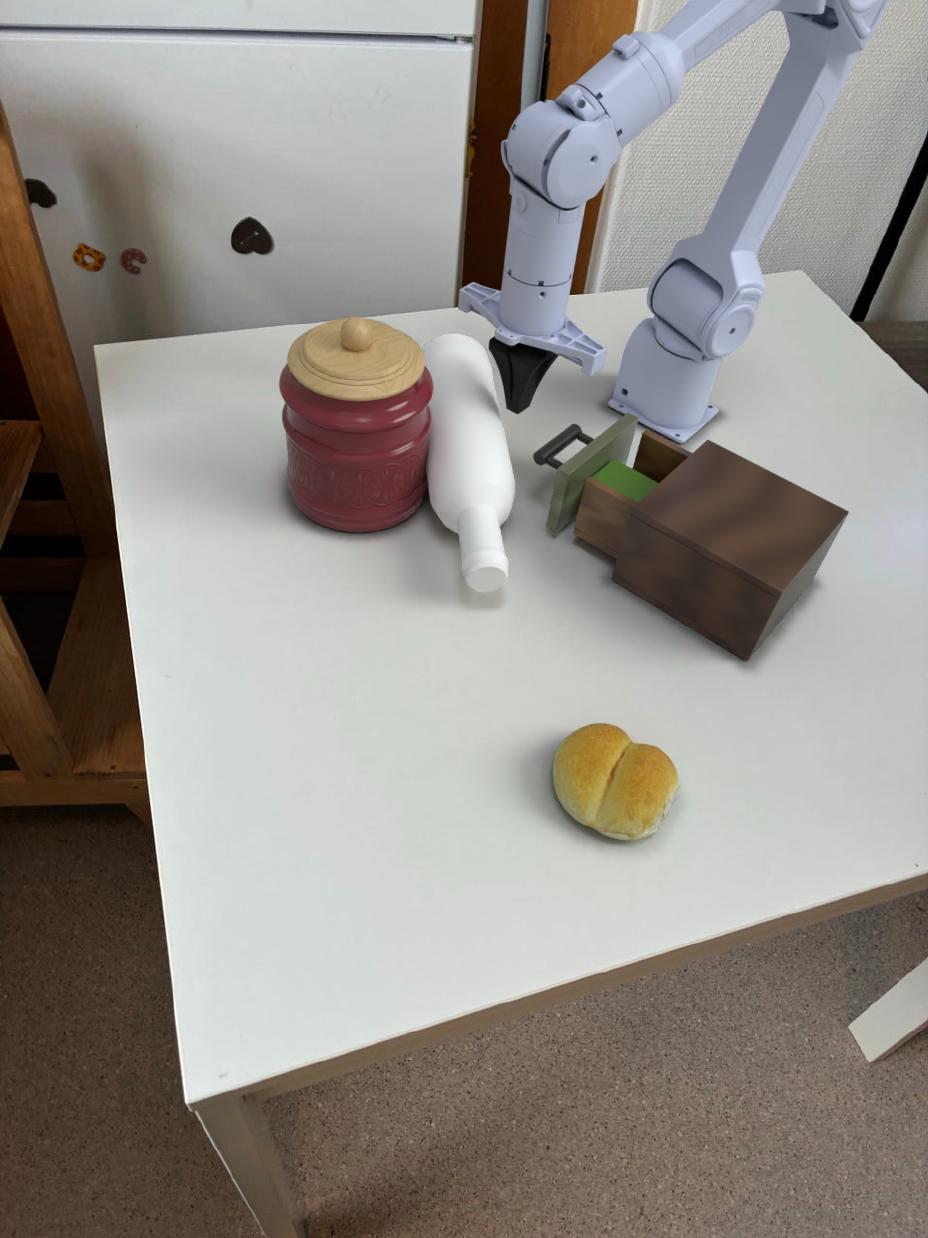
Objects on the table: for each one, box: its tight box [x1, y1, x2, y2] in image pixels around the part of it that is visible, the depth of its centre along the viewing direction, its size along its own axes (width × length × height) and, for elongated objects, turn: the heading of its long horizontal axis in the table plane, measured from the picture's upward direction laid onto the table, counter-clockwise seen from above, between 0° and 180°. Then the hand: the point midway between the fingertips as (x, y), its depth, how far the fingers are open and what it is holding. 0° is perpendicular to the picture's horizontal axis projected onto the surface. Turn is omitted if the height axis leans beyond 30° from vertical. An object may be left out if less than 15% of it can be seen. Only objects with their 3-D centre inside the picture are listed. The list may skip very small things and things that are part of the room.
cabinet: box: [611, 439, 850, 662], centre depth 77 cm, size 14×13×9 cm
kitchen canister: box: [278, 316, 434, 533], centre depth 78 cm, size 13×13×18 cm
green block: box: [593, 459, 659, 503], centre depth 82 cm, size 6×4×3 cm
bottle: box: [421, 333, 517, 593], centre depth 83 cm, size 8×8×30 cm
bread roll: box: [552, 722, 682, 841], centre depth 64 cm, size 8×9×4 cm
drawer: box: [532, 413, 693, 560], centre depth 81 cm, size 17×11×7 cm
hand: (518, 406), depth 84 cm, fingers closed
